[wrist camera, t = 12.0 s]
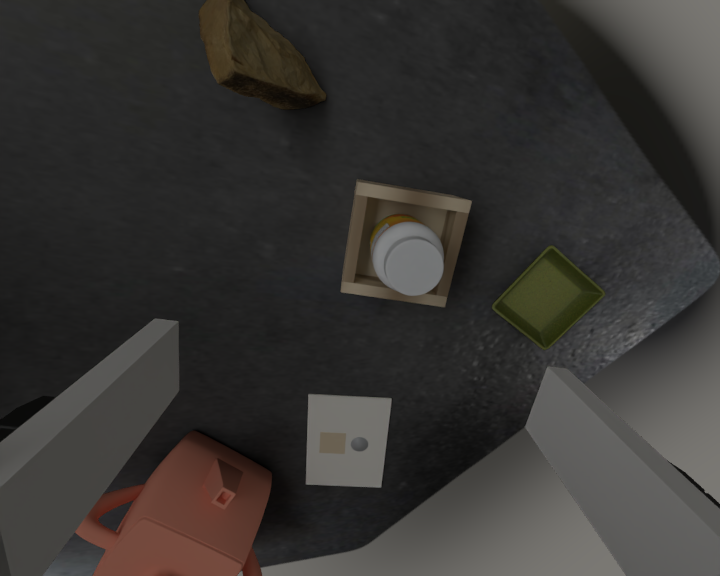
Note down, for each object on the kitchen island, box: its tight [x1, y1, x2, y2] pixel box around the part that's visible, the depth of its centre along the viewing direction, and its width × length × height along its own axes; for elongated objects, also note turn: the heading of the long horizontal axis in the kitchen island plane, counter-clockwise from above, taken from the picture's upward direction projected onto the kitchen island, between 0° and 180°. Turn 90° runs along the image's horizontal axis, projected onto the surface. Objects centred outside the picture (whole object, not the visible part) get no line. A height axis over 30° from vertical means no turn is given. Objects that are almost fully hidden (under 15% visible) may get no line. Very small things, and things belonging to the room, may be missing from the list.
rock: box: [199, 0, 326, 109], centre depth 28 cm, size 11×9×10 cm
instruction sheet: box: [306, 394, 392, 487], centre depth 45 cm, size 10×14×1 cm
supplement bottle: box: [369, 214, 444, 296], centre depth 29 cm, size 5×5×10 cm
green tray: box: [492, 245, 605, 350], centre depth 38 cm, size 9×9×2 cm
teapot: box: [75, 430, 272, 576], centre depth 40 cm, size 20×22×14 cm
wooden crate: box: [341, 179, 472, 307], centre depth 33 cm, size 10×10×6 cm
